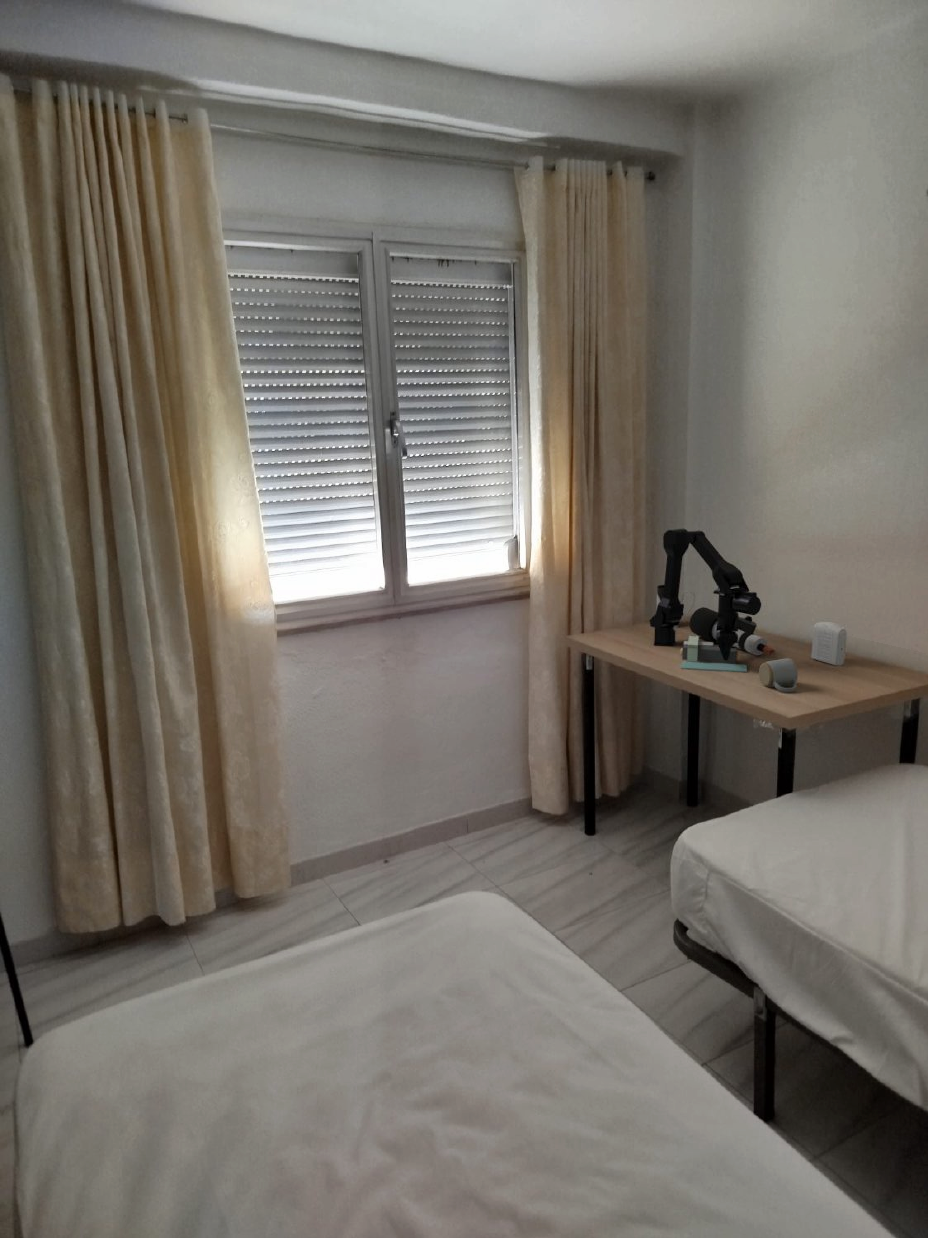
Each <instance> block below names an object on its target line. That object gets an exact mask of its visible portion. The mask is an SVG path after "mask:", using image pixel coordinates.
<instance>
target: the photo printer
mask: <svg viewBox="0 0 928 1238" xmlns="http://www.w3.org/2000/svg"><path fill="white" fill-rule="evenodd" d="M846 644H847V630H846V628H844V627H843V626H841V625H840V624H837V623H834V622H831V621H820V622H816V623H815V624H814V626H813V633H812V647H811V658H812V659H813V660H816V661H820V662H824V663H827V664H830V665H833V666H837V667H838V666H843V664H845V657H846V656H845V655H846V647H847V645H846Z"/></svg>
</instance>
